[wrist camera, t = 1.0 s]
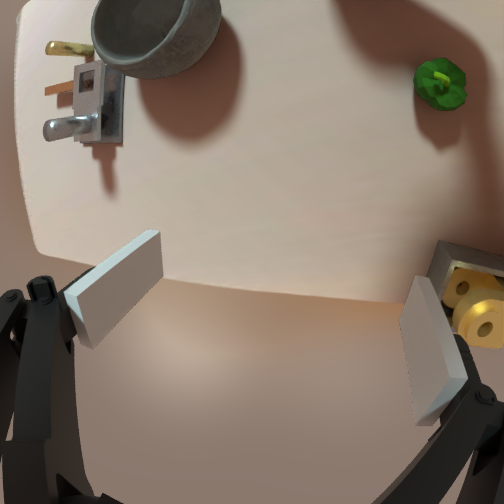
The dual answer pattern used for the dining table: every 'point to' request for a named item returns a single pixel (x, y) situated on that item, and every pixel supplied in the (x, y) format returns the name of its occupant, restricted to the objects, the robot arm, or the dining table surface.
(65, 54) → the gold rounded cylinder
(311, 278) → the dining table surface
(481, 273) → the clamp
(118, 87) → the grey lever block
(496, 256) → the grey open-top box
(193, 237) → the dining table surface
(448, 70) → the bell pepper
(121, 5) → the bowl
